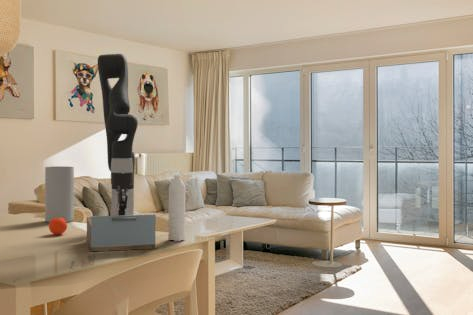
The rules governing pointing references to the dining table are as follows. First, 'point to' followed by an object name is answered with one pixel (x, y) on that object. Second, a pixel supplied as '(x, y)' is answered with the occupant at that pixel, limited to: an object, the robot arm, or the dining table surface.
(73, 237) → the dining table surface
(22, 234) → the dining table surface
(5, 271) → the dining table surface
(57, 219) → the clementine
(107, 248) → the crate
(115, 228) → the rectangular panel
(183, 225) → the water bottle
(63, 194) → the cylinder vase
